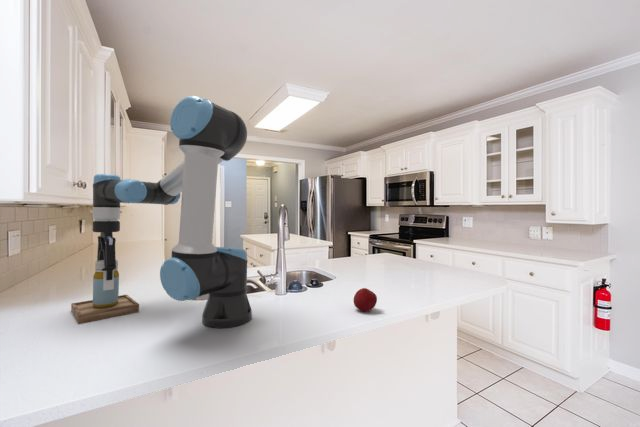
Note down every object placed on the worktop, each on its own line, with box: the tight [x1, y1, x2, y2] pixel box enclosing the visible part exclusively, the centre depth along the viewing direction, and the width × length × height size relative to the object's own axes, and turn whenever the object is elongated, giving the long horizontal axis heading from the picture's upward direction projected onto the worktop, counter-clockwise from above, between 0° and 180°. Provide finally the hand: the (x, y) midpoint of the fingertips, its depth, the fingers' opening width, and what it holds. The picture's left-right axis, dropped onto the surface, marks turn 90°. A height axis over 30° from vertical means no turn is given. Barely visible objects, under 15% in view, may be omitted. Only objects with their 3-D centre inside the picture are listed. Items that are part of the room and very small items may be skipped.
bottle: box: [92, 259, 120, 308], centre depth 99 cm, size 7×7×15 cm
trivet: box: [71, 294, 140, 325], centre depth 99 cm, size 16×16×3 cm
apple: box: [353, 287, 378, 313], centre depth 104 cm, size 8×8×8 cm
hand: (105, 287), depth 99 cm, fingers open, 8 cm apart
